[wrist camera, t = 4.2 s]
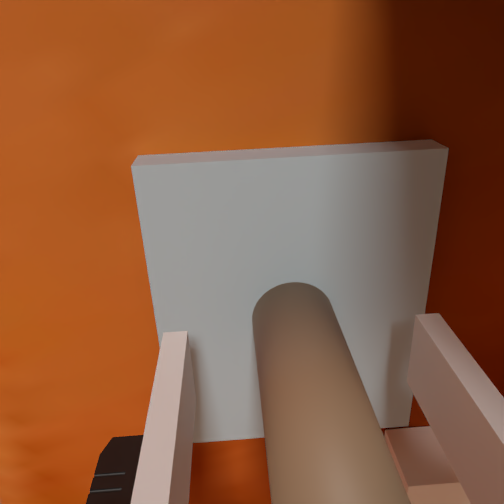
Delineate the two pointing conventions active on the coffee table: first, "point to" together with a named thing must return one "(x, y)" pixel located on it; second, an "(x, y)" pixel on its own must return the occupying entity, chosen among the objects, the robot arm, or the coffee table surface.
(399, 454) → the frame
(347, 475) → the grey panel with handle
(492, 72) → the coffee table surface
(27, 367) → the coffee table surface
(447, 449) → the robot arm
